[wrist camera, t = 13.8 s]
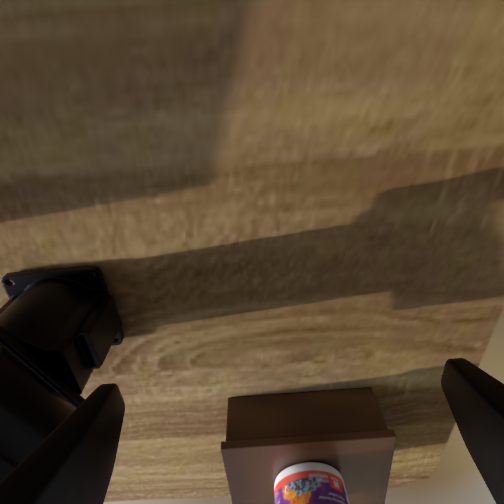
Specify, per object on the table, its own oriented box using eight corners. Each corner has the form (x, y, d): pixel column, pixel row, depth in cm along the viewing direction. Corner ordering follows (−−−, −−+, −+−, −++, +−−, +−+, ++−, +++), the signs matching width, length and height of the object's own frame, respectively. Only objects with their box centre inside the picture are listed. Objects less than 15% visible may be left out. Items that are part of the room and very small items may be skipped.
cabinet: (237, 466, 33) (236, 521, 29) (224, 395, 29) (220, 449, 24) (366, 457, 33) (383, 512, 29) (375, 384, 28) (396, 436, 24)
